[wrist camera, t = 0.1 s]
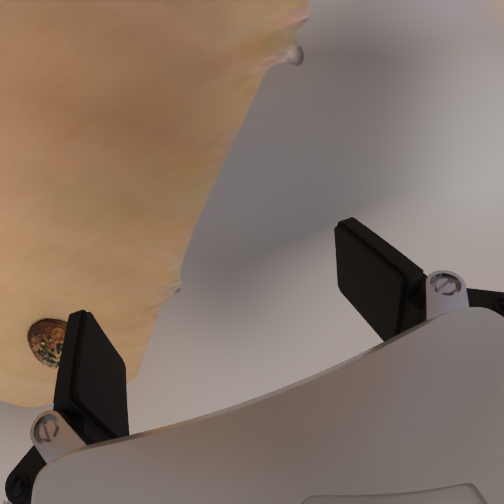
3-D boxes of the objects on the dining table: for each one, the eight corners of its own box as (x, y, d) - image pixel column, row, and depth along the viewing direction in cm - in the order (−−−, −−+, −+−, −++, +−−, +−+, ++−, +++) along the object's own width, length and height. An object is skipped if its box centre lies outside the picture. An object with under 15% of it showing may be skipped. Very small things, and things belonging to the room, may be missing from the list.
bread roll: (30, 308, 41) (27, 331, 37) (92, 323, 47) (94, 345, 43) (26, 351, 44) (24, 373, 40) (80, 362, 51) (82, 384, 47)
